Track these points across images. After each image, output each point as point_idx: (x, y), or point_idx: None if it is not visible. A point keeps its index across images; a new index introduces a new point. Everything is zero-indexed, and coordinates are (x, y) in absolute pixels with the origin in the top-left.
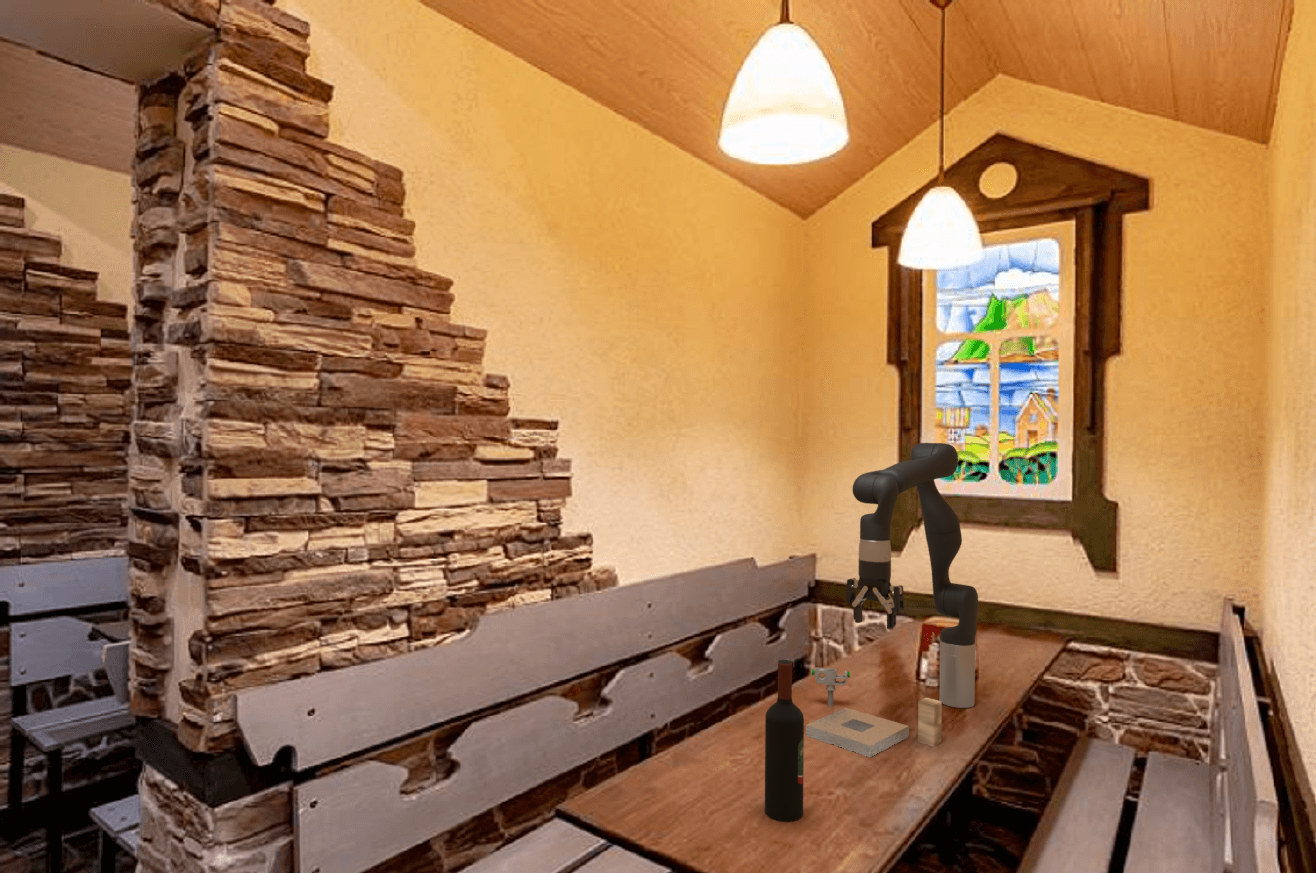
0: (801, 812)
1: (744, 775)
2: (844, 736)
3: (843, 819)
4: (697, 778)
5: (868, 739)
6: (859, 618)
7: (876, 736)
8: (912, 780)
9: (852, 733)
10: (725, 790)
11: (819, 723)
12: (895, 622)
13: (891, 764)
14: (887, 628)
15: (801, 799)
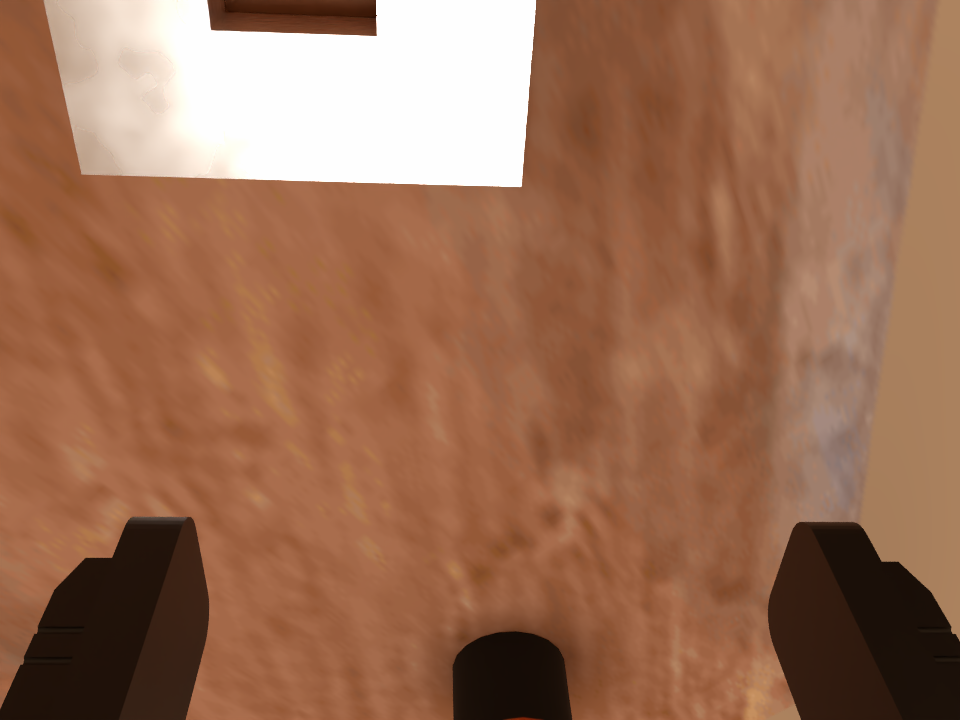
0: (565, 672)
1: (255, 592)
2: (346, 171)
3: (665, 606)
4: None
5: (468, 113)
6: (186, 633)
7: (481, 37)
8: (771, 244)
9: (351, 99)
10: (295, 678)
11: (113, 98)
12: (941, 633)
13: (632, 156)
14: (775, 618)
15: (570, 708)
